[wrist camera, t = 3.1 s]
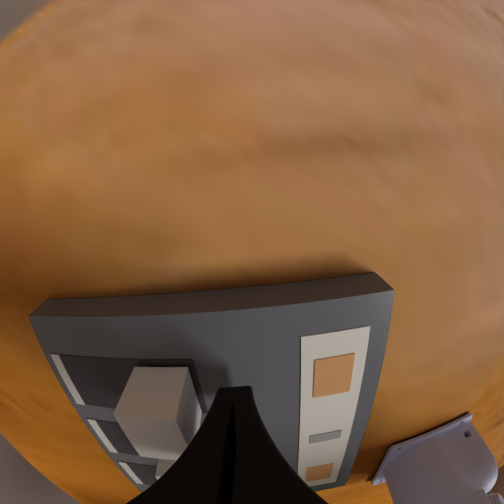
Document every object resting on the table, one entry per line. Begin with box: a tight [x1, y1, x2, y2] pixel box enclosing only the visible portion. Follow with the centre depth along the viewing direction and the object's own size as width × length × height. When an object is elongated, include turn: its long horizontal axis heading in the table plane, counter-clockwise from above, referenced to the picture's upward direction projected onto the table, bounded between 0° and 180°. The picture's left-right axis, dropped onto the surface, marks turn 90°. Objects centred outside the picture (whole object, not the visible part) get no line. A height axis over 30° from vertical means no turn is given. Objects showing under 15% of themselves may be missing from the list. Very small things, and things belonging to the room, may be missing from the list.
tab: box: [113, 367, 202, 460], centre depth 10 cm, size 2×3×3 cm
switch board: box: [28, 272, 394, 492], centre depth 14 cm, size 17×18×2 cm
